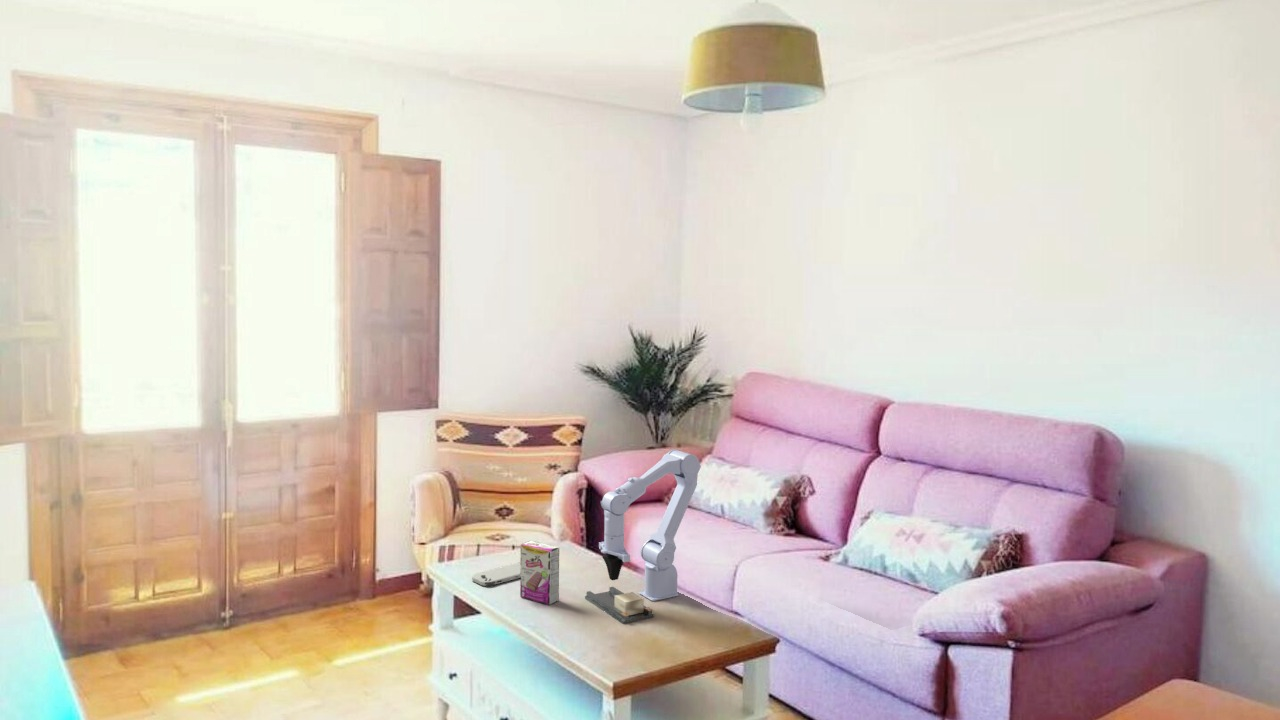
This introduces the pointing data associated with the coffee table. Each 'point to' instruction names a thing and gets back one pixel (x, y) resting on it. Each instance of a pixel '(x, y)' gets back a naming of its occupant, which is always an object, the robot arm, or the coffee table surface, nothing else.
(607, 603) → the chute
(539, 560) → the candy bar box
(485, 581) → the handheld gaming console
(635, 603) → the block
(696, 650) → the coffee table surface
